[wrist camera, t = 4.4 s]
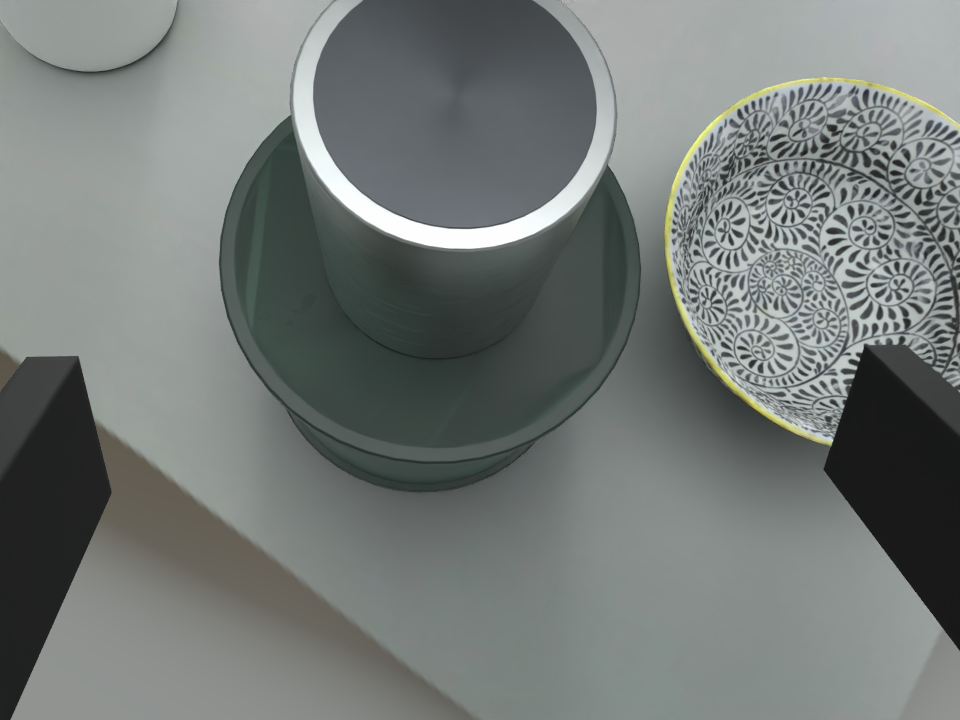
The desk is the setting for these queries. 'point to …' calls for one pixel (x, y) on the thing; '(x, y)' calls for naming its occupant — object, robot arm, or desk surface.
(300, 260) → the bucket
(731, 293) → the bowl
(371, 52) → the silver cup
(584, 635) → the desk surface
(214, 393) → the desk surface
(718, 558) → the desk surface
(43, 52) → the cup
